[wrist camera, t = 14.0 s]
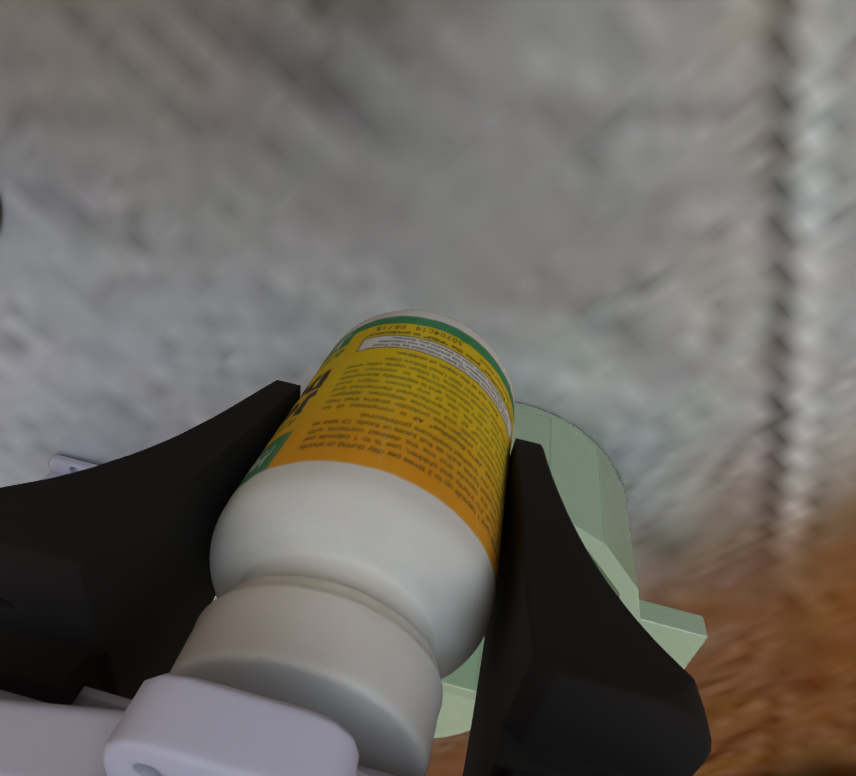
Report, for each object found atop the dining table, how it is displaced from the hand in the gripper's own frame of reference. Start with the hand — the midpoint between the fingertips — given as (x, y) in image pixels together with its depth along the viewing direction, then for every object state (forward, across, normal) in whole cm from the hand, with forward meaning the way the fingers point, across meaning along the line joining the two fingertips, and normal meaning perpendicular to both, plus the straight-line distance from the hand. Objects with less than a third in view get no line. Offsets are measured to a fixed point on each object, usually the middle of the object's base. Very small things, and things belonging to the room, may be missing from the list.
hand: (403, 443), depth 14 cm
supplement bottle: (+3, 0, 0) cm, 3 cm away
